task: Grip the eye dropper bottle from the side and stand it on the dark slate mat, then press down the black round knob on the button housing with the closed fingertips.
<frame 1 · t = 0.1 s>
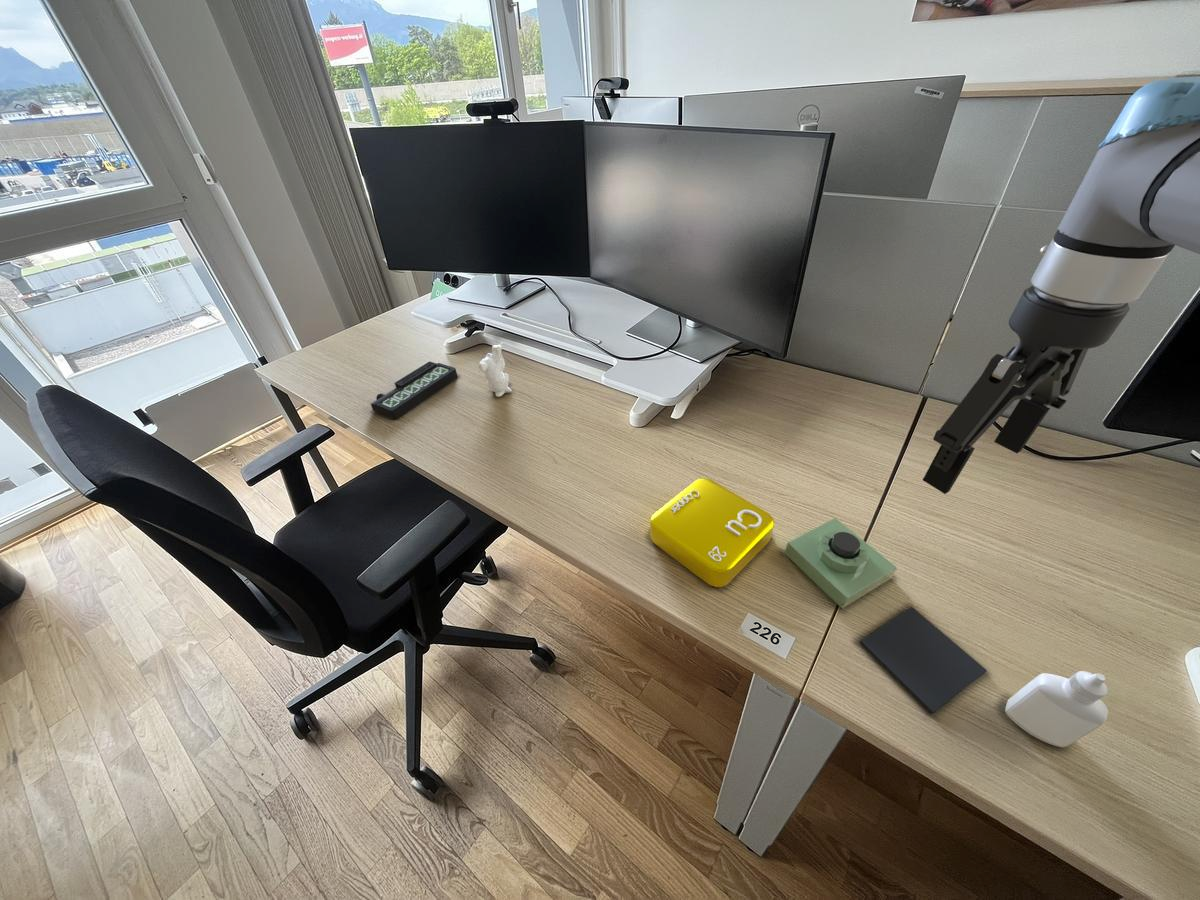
hand: (972, 465, 56), 21 cm above the table, tool pointing down, fingers open, 13 cm apart
element tile: (709, 537, 76), on the table
button housing: (835, 565, 70), on the table
koala figurine: (501, 392, 114), on the table
black round knob: (844, 545, 67), point 5 cm above the table, slide at 0.1 cm
digital display: (415, 393, 117), on the table
slate mat: (919, 657, 59), on the table
eye dropper bottle: (1033, 724, 53), on the table
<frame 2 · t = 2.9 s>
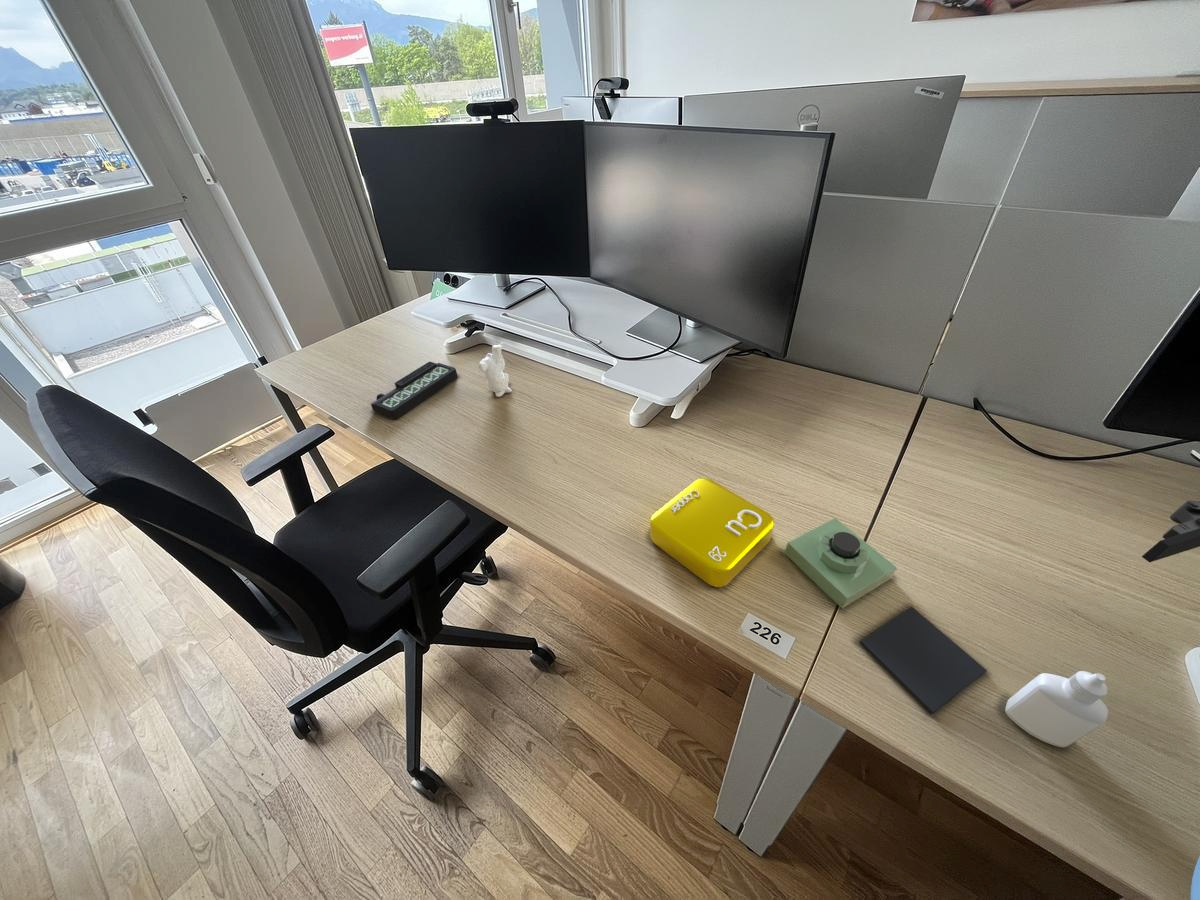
nothing on the table moved.
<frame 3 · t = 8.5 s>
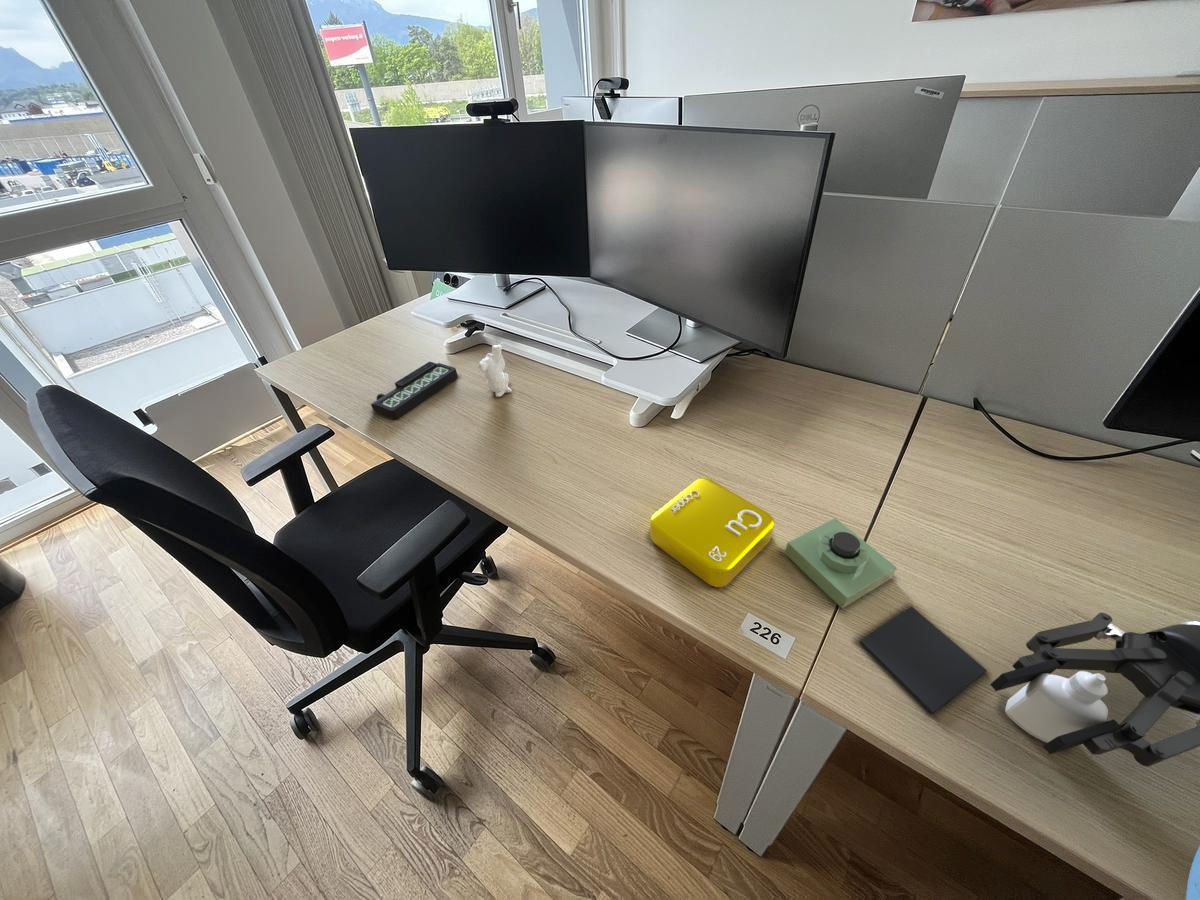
hand: (1025, 712, 48), 7 cm above the table, tool horizontal, fingers closed on eye dropper bottle, 5 cm apart
eye dropper bottle: (1033, 724, 53), on the table, touching gripper
everything else where it was.
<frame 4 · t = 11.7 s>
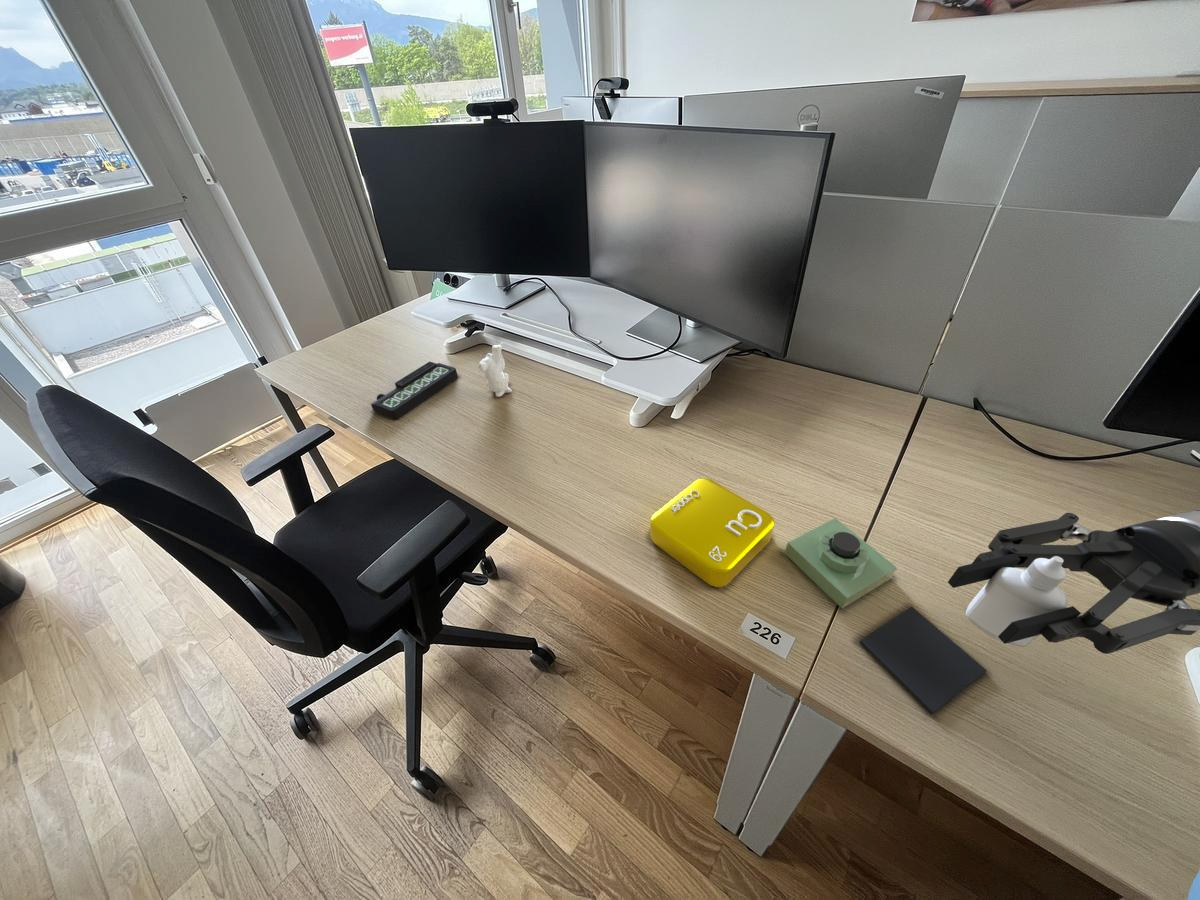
hand: (981, 603, 45), 18 cm above the table, tool horizontal, fingers closed on eye dropper bottle, 5 cm apart
eye dropper bottle: (994, 627, 50), point 11 cm above the table, touching gripper
everything else where it was.
when the fingers open (7 cm above the table, at t = 15.3 s): eye dropper bottle stays where it is, resting on slate mat.
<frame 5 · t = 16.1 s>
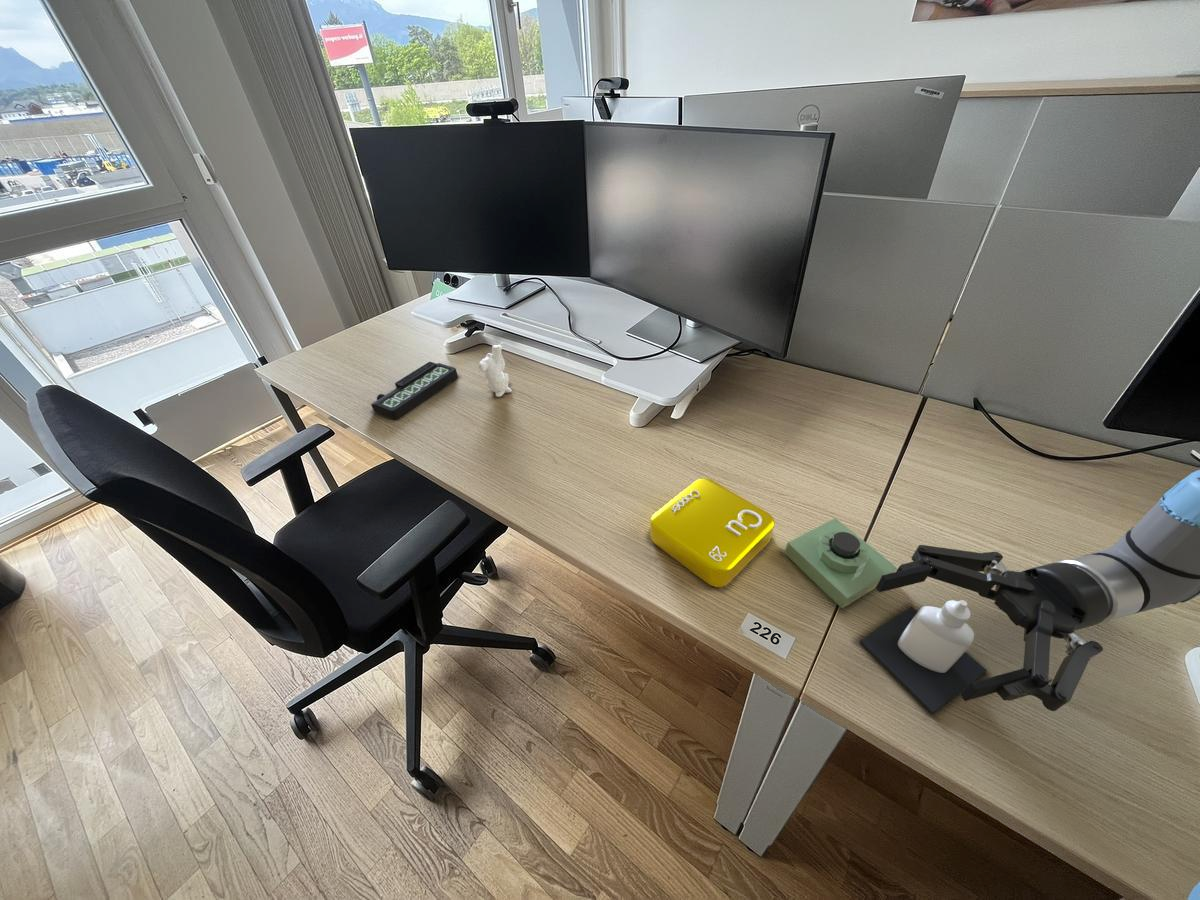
hand: (919, 633, 54), 8 cm above the table, tool horizontal, fingers open, 13 cm apart
eye dropper bottle: (921, 655, 59), resting on slate mat
everything else where it was.
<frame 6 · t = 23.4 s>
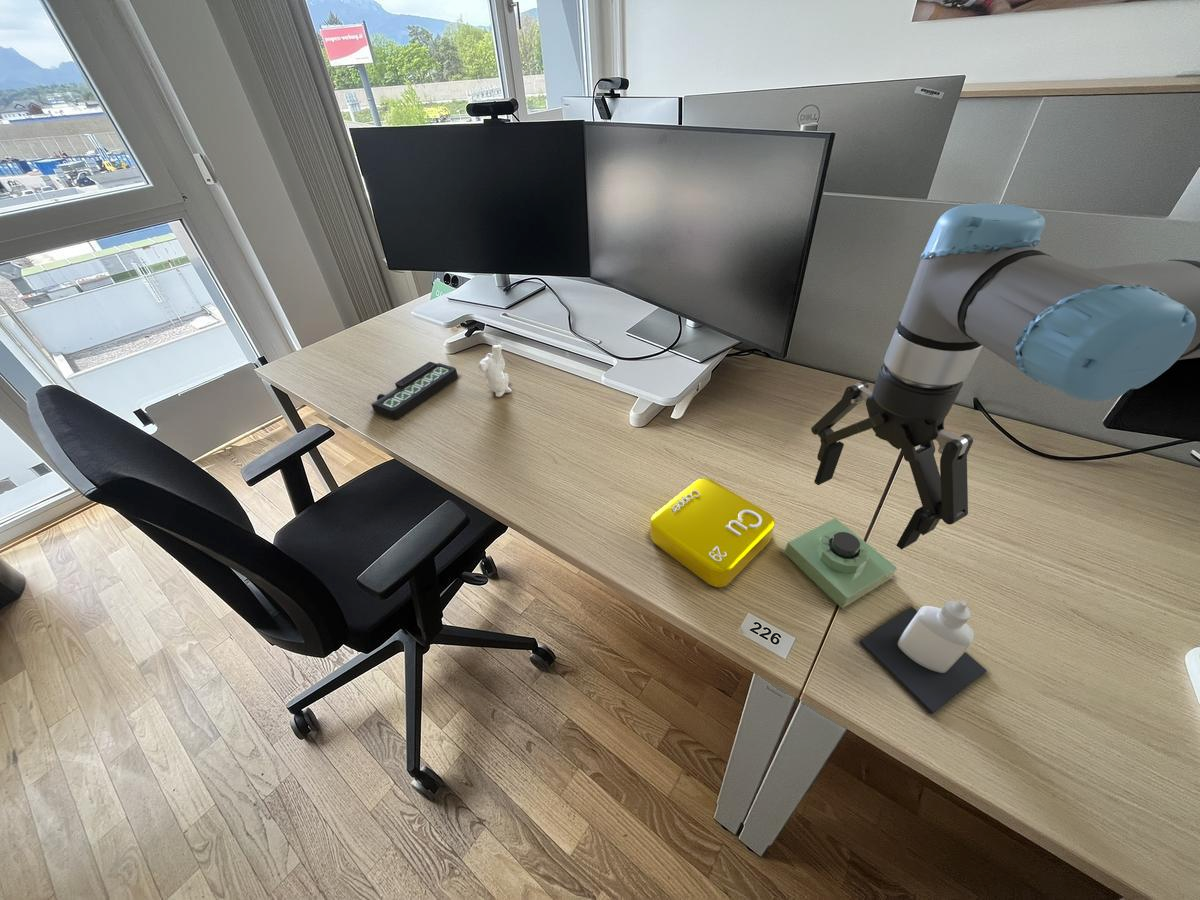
hand: (861, 509, 62), 12 cm above the table, tool pointing down, fingers open, 12 cm apart
nothing on the table moved.
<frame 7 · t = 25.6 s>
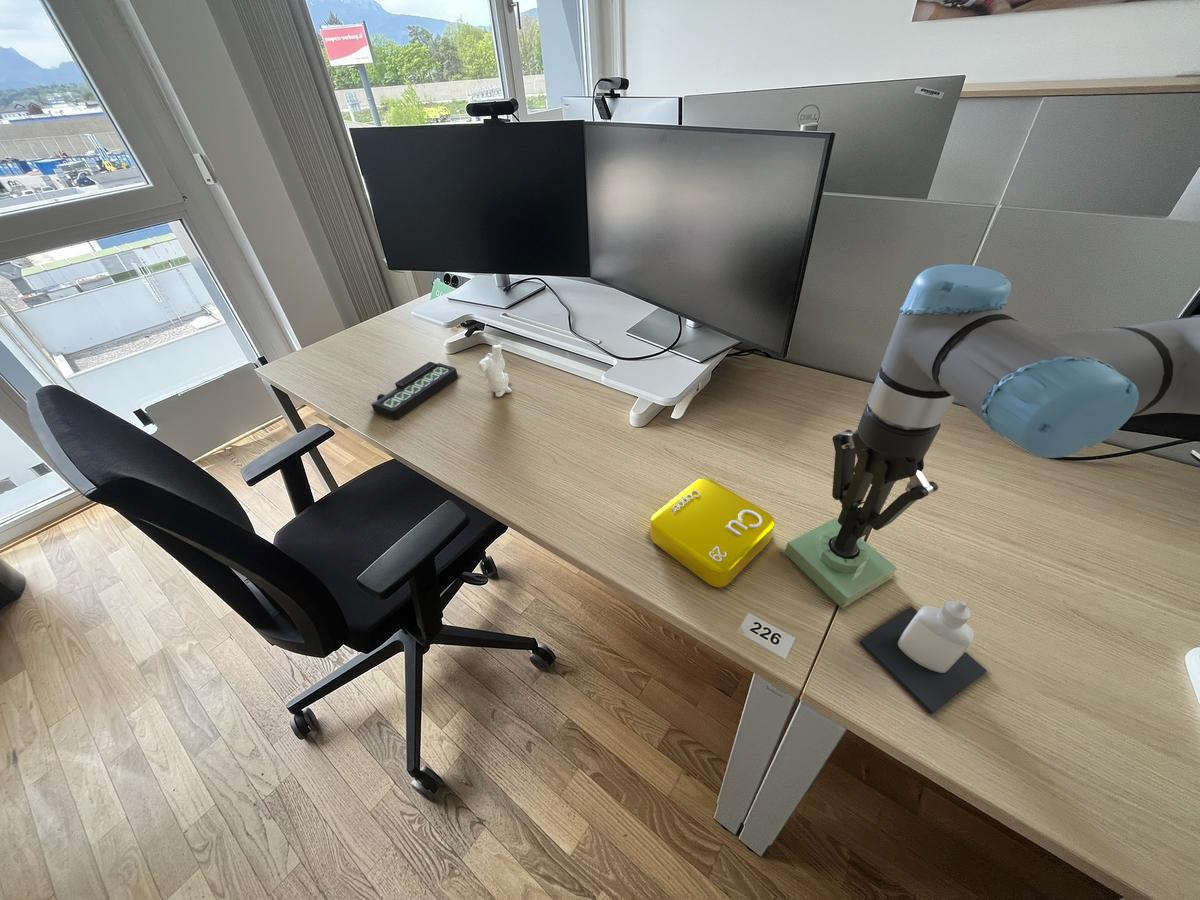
hand: (844, 543, 67), 5 cm above the table, tool pointing down, fingers closed
black round knob: (843, 549, 67), point 4 cm above the table, slide at -0.8 cm, touching gripper
everything else where it was.
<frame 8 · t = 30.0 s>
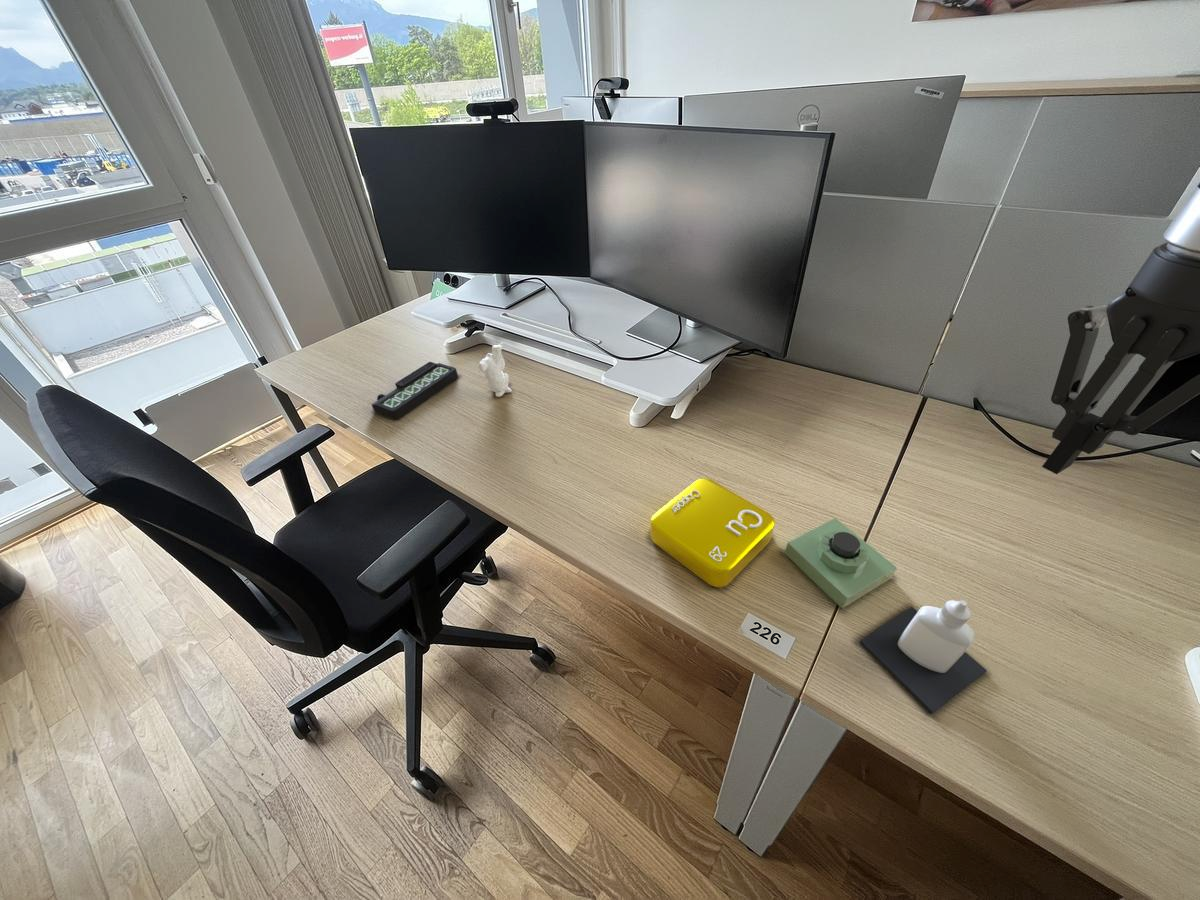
hand: (1056, 466, 52), 22 cm above the table, tool pointing down, fingers closed
black round knob: (844, 545, 67), point 5 cm above the table, slide at 0.1 cm
everything else where it was.
at the end: eye dropper bottle inside the target area on the slate mat (0.1 cm from its centre), point 0.4 cm above the slate mat's base; eye dropper bottle tilted 0°; black round knob pushed in 1.0 cm at the most during the clip, back to where it started at the end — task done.
